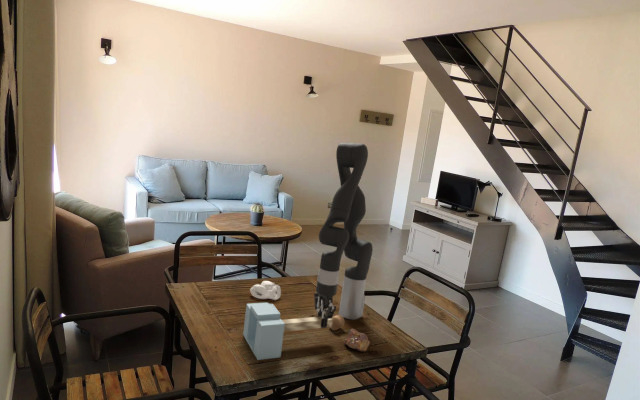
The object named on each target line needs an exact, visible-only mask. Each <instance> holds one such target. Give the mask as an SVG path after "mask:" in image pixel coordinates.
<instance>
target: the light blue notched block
mask: <svg viewBox="0 0 640 400" xmlns="http://www.w3.org/2000/svg"><path fill="white" fill-rule="evenodd" d="M245 308H246V309H245V315H244V322H243V323H244V324H243V325H244V326H243V332H242V333H243V334H242V336H243V337H244V339H245V341H246V343H247V345H249V348H250V350H251V351H252V353H253V355H254V356H255V358H256V359H257V360H258V361H259V360H261V361H262V360H269V359H278V358H282V357H281V356H282V350H283V349H282V348H283V347H282V346H283V340H284V333H285V332H284V326H285V323H284V322H283V321H282V320H283V319H281V313H280V311H279V310H278V309H277V308H276V306H275V304H273V303H269V302H254V303H246V307H245ZM257 360H256V361H257Z"/></svg>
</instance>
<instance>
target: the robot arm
mask: <svg viewBox="0 0 640 400" xmlns="http://www.w3.org/2000/svg"><path fill="white" fill-rule="evenodd" d="M336 147H337V148H336V154H335V156H336V158H335V159H336V165H337V169H338V170H337V171H338V177H339V182H340V187H339V188H338V189H337V190H336V192H335V193H334V196H333V198H332V202H331V205H330V211H329V213H328V216H327V218H326V220H325V221H324V223H323V225H322V227H321V228H320V231H319V232H318V240H319V242H320V244H322V245H324V246H329V247H333V248H336V249H335V250H325V251H324V252H322V253H321V257H320V262H319V263H320V264H319V269H318V273H317V280H316V286H315V287H316V288H315V292H314V293H313V296H314V297H313V298H314V299H313V300H314V310H316V317H322V320H321V327H322V328H321V329H324V328H325V329H326V327H327V322H328V319H331V318H332V317H333V316H334V314H335V313H336V310H337V306H336V305H334V304H333V300H334V299H333V298H334V297H335V296H336V294H337V290H338V285H339V280H340V279H339V276H340V267H341V261H342V256H343V254H344V256H345V258H347V259H349V260H352V261H354V262H357V263H356V266H348V267H346V268H345V270H344V274H343V275H344V276H343V283H342V289H341V295H340V302H339V308H338V315H341V316H342V317H343V318H344V319H347V320H358V319H360V318H362V317H363V313H364V307H365V302H366V295H365V289H366V282H367V277H368V273H369V269H370V266H371V260H372V255H373V250H374V249H373V244H372V243H371V241H368V240H365V239H361V238H358V236H357V228H358V226H359V224H360V223H361V222H362V221H363V219H364V217H365V215H366V211H367V209H366V206H367V205H366V196H365V194H364V192H363V191H362V189H361V188H360V186H359V184H360V181H361V179H362V176H363V173H364V171H365V168H366V166H367V163H368V157H369V150H368V147H367V145H366V144H364V143H356V142H355V143H354V142H340V143H339V144H338V145H337V146H336ZM351 169H352V172H351ZM337 223H343V227H339V226H335V224H337ZM327 328H328V327H327Z"/></svg>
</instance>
